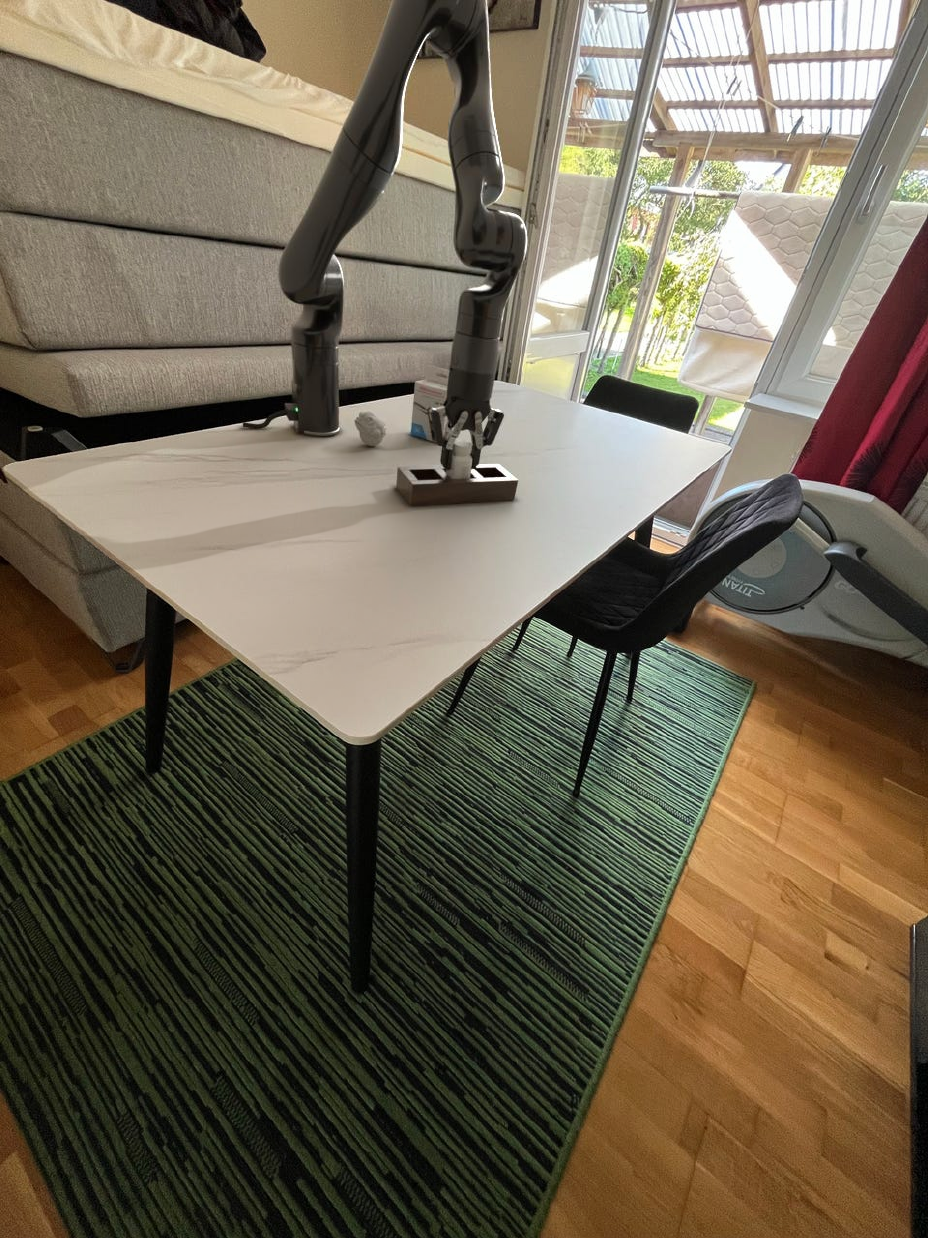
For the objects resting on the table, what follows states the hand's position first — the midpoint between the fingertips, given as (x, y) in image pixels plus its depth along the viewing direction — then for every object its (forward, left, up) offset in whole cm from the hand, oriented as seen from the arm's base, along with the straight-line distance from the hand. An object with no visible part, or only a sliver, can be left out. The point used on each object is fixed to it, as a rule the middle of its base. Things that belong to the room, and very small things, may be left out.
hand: (458, 467), depth 93 cm
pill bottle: (0, 0, -4) cm, 4 cm away
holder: (0, 0, -5) cm, 5 cm away
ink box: (+7, +31, -5) cm, 32 cm away
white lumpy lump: (-9, +26, -5) cm, 28 cm away
